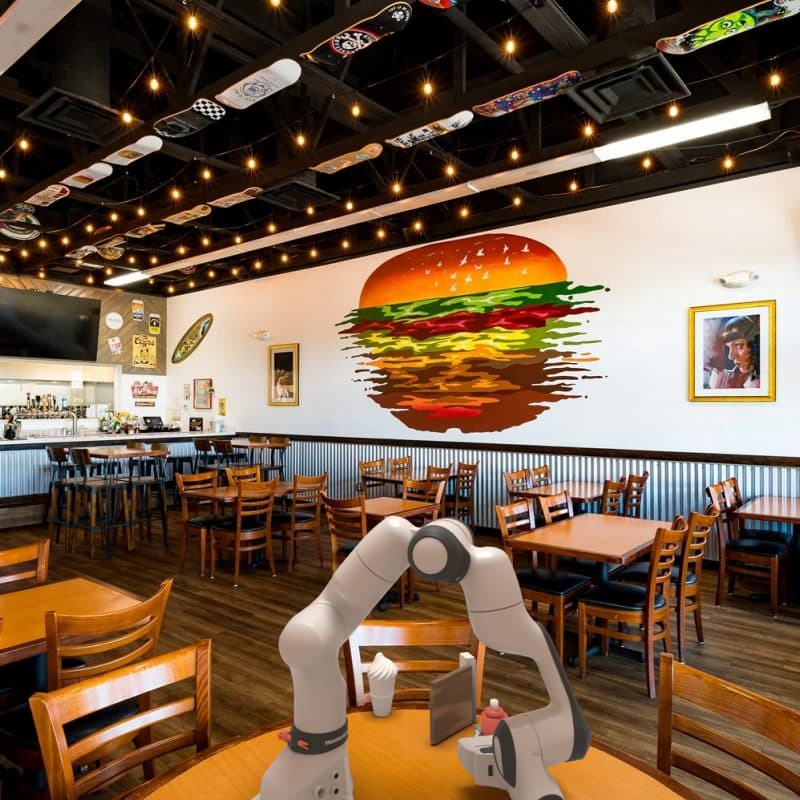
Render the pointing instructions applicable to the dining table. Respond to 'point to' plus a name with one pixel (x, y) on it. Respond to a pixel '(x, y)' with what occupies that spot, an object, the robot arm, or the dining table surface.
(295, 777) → the robot arm
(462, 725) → the door
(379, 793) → the dining table surface
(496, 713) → the ketchup bottle
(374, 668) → the soft serve ice cream cone
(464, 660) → the white-tipped grey slat
